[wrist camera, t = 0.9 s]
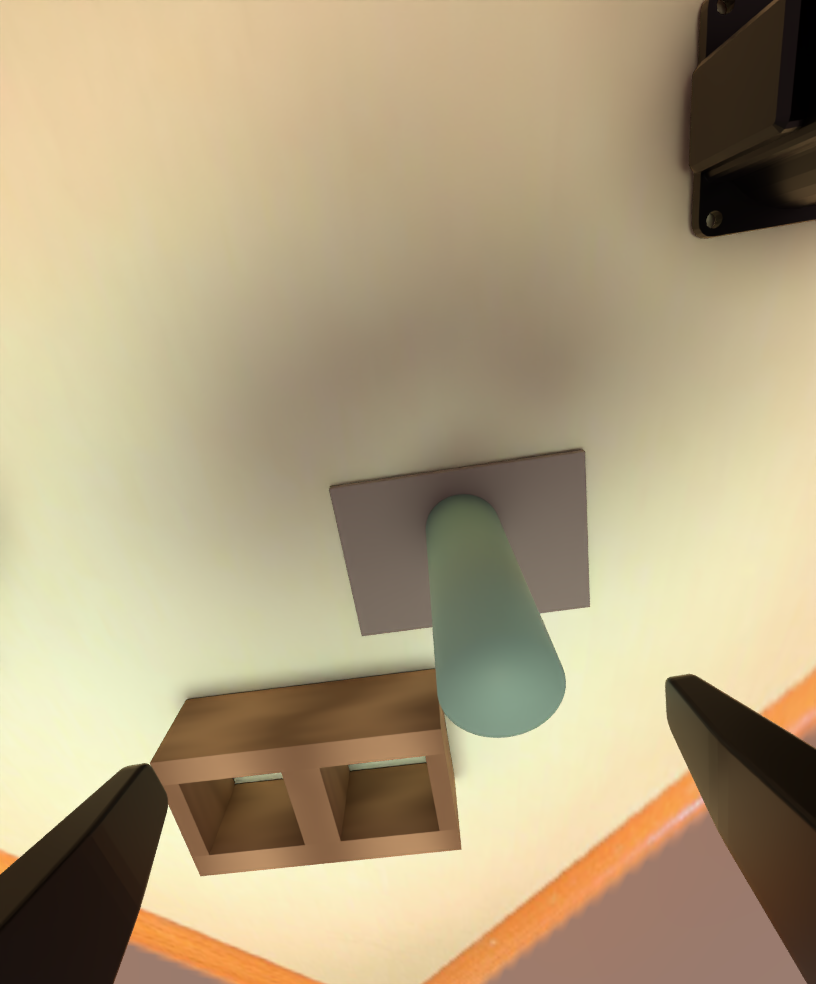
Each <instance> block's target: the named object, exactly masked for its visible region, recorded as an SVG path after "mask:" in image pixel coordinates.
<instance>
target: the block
mask: <svg viewBox="0 0 816 984" xmlns="http://www.w3.org/2000/svg"><path fill="white" fill-rule="evenodd" d="M420 756H426V761H427V763H422V764H413V765H404V766H395V767H386V768H377V769H368V770H360V771H351V772H350V771H349V767H348V765H349V764H358V763H367V762H376V761H384V760H393V759H402V758H411V757H420ZM150 764H151V766H152V768H153V769H154V771H155V773H156V775H157V776H158V778H159V780H160V782H161V784H162V786H163V787H164V789H165V791H166V793H167V796H168V805H169V807H170V809H171V811H172V814H173V816H174V818H175V820H176V822H177V825H178V827H179V829H180V831H181V834H182V836H183V838H184V840H185V842H186V845H187V847H188V849H189V851H190V854H191V856H192V858H193V860H194V863H195V865H196V867H197V869H198V871H199V874H200V876H207V875H217V874H227V873H237V872H246V871H256V870H266V869H276V868H285V867H295V866H305V865H314V864H324V863H334V862H344V861H353V860H363V859H373V858H383V857H392V856H402V855H412V854H422V853H431V852H441V851H451V850H461V840H460V830H459V819H458V809H457V798H456V788H455V778H454V772H453V766H452V760H451V754H450V748H449V742H448V736H447V730H446V724H445V718H444V712H443V710H442V708H441V706H440V703H439V700H438V695H437V683H436V669H429V670H421V671H413V672H405V673H397V674H389V675H381V676H373V677H365V678H357V679H349V680H340V681H332V682H324V683H316V684H308V685H300V686H292V687H284V688H276V689H268V690H260V691H251V692H243V693H235V694H227V695H219V696H211V697H203V698H195V699H187V700H186V701H185V703H184V704H183V706H182V708H181V710H180V711H179V713H178V715H177V717H176V718H175V720H174V722H173V724H172V725H171V727H170V729H169V731H168V732H167V734H166V736H165V737H164V739H163V741H162V743H161V744H160V746H159V748H158V750H157V751H156V753H155V755H154V757H153V758H152V760H151V762H150ZM279 772H281V773H282V776H283V779H280V780H271V781H262V782H253V783H244V784H236V785H235V782H234V780H233V778H235V777H244V776H253V775H261V774H270V773H279Z"/></svg>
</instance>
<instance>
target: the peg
mask: <svg viewBox="0 0 816 984" xmlns="http://www.w3.org/2000/svg"><path fill="white" fill-rule="evenodd" d="M426 542H427V556H428V570H429V584H430V598H431V612H432V626H433V640H434V654H435V668H436V683H437V695H438V700H439V703H440V706H441V708H442V710H443V711H444V713H445V715H446V716H447V717H448V718H449V719H450V720H451V721H452V722H453V723H454V724H455V725H457V726H458V727H460V728H461V729H463V730H465V731H467V732H470V733H473V734H475V735H479V736H484V737H493V738H502V737H511V736H516V735H520V734H523V733H526V732H528V731H531V730H533V729H535V728H537V727H538V726H540V725H541V724H543V723H544V722H545V721H547V720H548V719H549V718H550V717H551V716H552V715H553V714H554V713H555V711H556V710H557V709H558V707H559V705H560V703H561V702H562V699H563V696H564V693H565V688H566V679H565V673H564V670H563V667H562V665H561V662H560V660H559V658H558V655H557V653H556V651H555V648H554V646H553V644H552V641H551V639H550V637H549V634H548V632H547V630H546V627H545V625H544V623H543V620H542V618H541V616H540V613H539V611H538V609H537V606H536V604H535V602H534V599H533V597H532V595H531V592H530V590H529V588H528V585H527V583H526V581H525V578H524V576H523V574H522V571H521V569H520V567H519V564H518V562H517V560H516V557H515V555H514V553H513V550H512V548H511V546H510V543H509V541H508V539H507V536H506V534H505V532H504V529H503V527H502V525H501V522H500V520H499V518H498V515H497V513H496V511H495V510H494V508H493V507H492V506H491V505H490V504H489V503H488V502H487V501H485V500H484V499H482V498H480V497H478V496H474V495H469V494H458V495H453V496H450V497H448V498H446V499H444V500H442V501H441V502H439V503H438V504H437V505H436V506H435V507H434V508H433V509H432V511H431V512H430V514H429V516H428V519H427V522H426Z"/></svg>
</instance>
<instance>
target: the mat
mask: <svg viewBox="0 0 816 984" xmlns="http://www.w3.org/2000/svg"><path fill="white" fill-rule="evenodd" d="M329 491H330V495H331V500H332V504H333V509H334V513H335V518H336V522H337V527H338V531H339V536H340V540H341V545H342V549H343V554H344V558H345V562H346V567H347V571H348V576H349V580H350V585H351V589H352V594H353V598H354V603H355V607H356V612H357V616H358V621H359V625H360V630H361V634H362V636H367V635H374V634H382V633H390V632H398V631H406V630H413V629H421V628H429V627H433V626H432V612H431V598H430V584H429V570H428V556H427V542H426V522H427V519H428V516H429V514H430V512H431V511H432V509H433V508H434V507H435V506H436V505H437V504H438V503H439V502H441V501H442V500H444V499H446V498H448V497H450V496H453V495H458V494H469V495H474V496H478V497H480V498H482V499H484V500H485V501H487V502H488V503H489V504H490V505H491V506H492V507H493V508H494V510H495V511H496V513H497V515H498V518H499V520H500V522H501V525H502V527H503V529H504V532H505V534H506V536H507V539H508V541H509V543H510V546H511V548H512V550H513V553H514V555H515V557H516V560H517V562H518V564H519V567H520V569H521V571H522V574H523V576H524V578H525V581H526V583H527V585H528V588H529V590H530V592H531V595H532V597H533V599H534V602H535V604H536V606H537V609H538V611H539V613H546V612H554V611H561V610H569V609H577V608H585V607H590V594H589V563H588V531H587V500H586V468H585V451H583V450H577V451H570V452H563V453H556V454H549V455H542V456H535V457H529V458H522V459H515V460H508V461H501V462H494V463H488V464H481V465H474V466H467V467H460V468H453V469H447V470H440V471H433V472H426V473H419V474H412V475H406V476H399V477H392V478H385V479H378V480H371V481H364V482H358V483H351V484H344V485H337V486H330V488H329Z"/></svg>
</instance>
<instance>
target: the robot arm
mask: <svg viewBox="0 0 816 984" xmlns="http://www.w3.org/2000/svg"><path fill="white" fill-rule="evenodd" d="M717 1H718V0H705V1H704V3H703V5H702V7H701V12H700V29H699V55H698V67H697V68H696V70H695V71H694V72H693V75H692V96H691V124H690V152H689V166H690V168H691V169H692V170H693V172H694V182H693V208H692V229H693V232H694V233H695V235H696V236H698V237H700V238H712V237H718V236H724V235H730V234H736V233H742V232H748V231H754V230H760V229H766V228H772V227H778V226H784V225H790V224H796V223H802V222H808V221H814V220H816V0H722V1H724V3H725V4H726V8H727V10H726V14H725V15H724V14H720V13H719V12H718V11H717ZM710 213H712V214H713V215H714V216H715V223H714V226H713V227H712V228H709V227H708V226H707V223H706V220H707V216H708V215H709V214H710ZM665 692H666V712H667V720H668V724H669V727H670V730H671V732H672V734H673V736H674V738H675V741H676V743H677V745H678V747H679V749H680V751H681V753H682V756H683V758H684V760H685V762H686V764H687V766H688V768H689V771H690V773H691V775H692V777H693V779H694V781H695V783H696V786H697V788H698V790H699V792H700V794H701V796H702V798H703V801H704V803H705V805H706V807H707V809H708V811H709V813H710V815H711V818H712V820H713V822H714V824H715V826H716V828H717V830H718V832H719V834H720V835H721V837H722V839H723V841H724V843H725V844H726V846H727V848H728V850H729V851H730V853H731V855H732V856H733V858H734V860H735V862H736V863H737V865H738V867H739V868H740V870H741V872H742V873H743V875H744V877H745V879H746V880H747V882H748V884H749V885H750V887H751V889H752V890H753V892H754V894H755V896H756V897H757V899H758V901H759V902H760V904H761V906H762V908H763V909H764V911H765V913H766V914H767V916H768V918H769V919H770V921H771V923H772V924H773V926H774V928H775V929H776V931H777V933H778V935H779V936H780V938H781V940H782V942H783V943H784V945H785V947H786V948H787V950H788V952H789V953H790V955H791V957H792V959H793V960H794V962H795V964H796V965H797V967H798V969H799V970H800V972H801V974H802V976H803V977H804V979H805V981H806V982H807V984H816V748H814V747H813V746H811V745H810V744H808V743H806V742H805V741H803V740H801V739H800V738H798V737H796V736H795V735H793V734H791V733H790V732H788V731H787V730H785V729H783V728H782V727H780V726H778V725H777V724H775V723H773V722H772V721H770V720H768V719H767V718H765V717H763V716H762V715H760V714H759V713H757V712H755V711H754V710H752V709H750V708H749V707H747V706H745V705H744V704H742V703H740V702H739V701H737V700H735V699H734V698H732V697H730V696H729V695H727V694H726V693H724V692H722V691H721V690H719V689H717V688H716V687H714V686H712V685H711V684H709V683H707V682H706V681H704V680H702V679H701V678H699V677H697V676H695V675H693V674H686V675H679V676H673V677H669V678H667V680H666V682H665ZM167 809H168V796H167V793H166V791H165V789H164V787H163V786H162V784H161V782H160V780H159V778H158V776H157V775H156V773H155V771H154V769H153V768H152V766H151V765H149V764H146V763H143V764H137V765H131V766H127V767H124V768H122V769H121V770H120V771H119V772H117V773H116V774H115V775H114V776H113V777H112V778H111V779H109V780H108V781H107V782H106V783H105V784H104V785H103V786H101V787H100V788H99V789H98V790H97V791H96V792H95V793H93V794H92V795H91V796H90V797H89V798H88V799H86V800H85V801H84V802H83V803H82V804H81V805H80V806H78V807H77V808H76V809H75V810H74V811H73V812H72V813H70V814H69V815H68V816H67V817H66V818H65V819H64V820H62V821H61V822H60V823H59V824H58V825H57V826H55V827H54V828H53V829H52V830H51V831H50V832H49V833H47V834H46V835H45V836H44V837H43V838H42V839H41V840H39V841H38V842H37V843H36V844H35V845H34V846H33V847H31V848H30V849H29V850H28V851H27V852H26V853H25V854H23V855H22V856H21V857H20V858H19V859H18V860H16V861H15V862H14V863H13V864H12V865H11V866H10V867H8V868H7V869H6V870H5V871H4V872H3V873H2V874H0V984H113V983H114V981H115V978H116V975H117V973H118V970H119V967H120V964H121V961H122V959H123V956H124V953H125V950H126V948H127V945H128V942H129V939H130V936H131V934H132V931H133V928H134V925H135V922H136V919H137V916H138V913H139V910H140V907H141V904H142V900H143V897H144V894H145V890H146V887H147V883H148V879H149V876H150V872H151V868H152V865H153V861H154V857H155V854H156V850H157V846H158V843H159V839H160V835H161V832H162V828H163V824H164V820H165V817H166V813H167Z"/></svg>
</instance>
